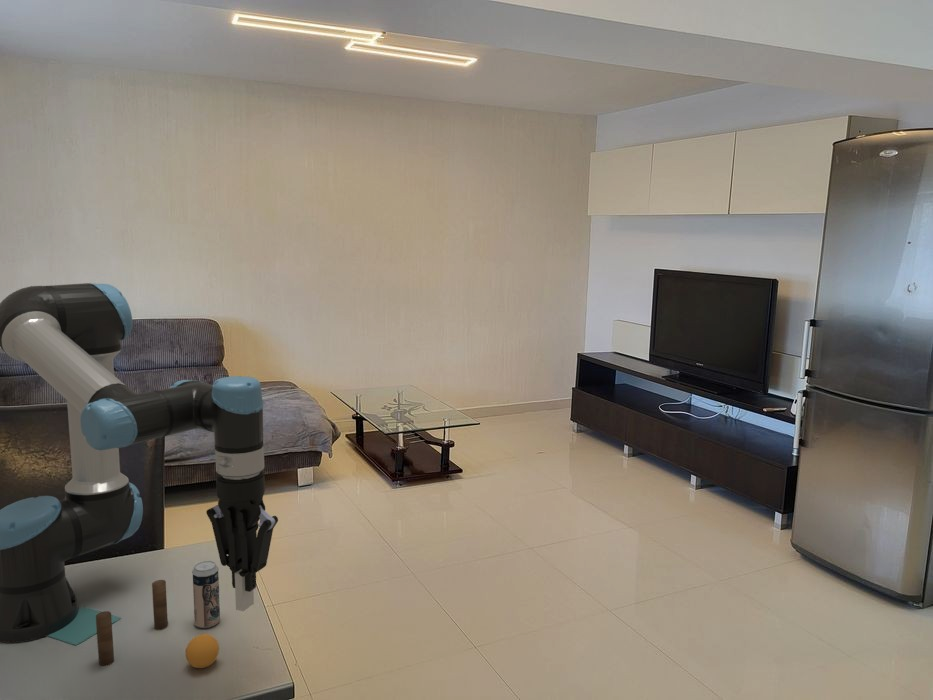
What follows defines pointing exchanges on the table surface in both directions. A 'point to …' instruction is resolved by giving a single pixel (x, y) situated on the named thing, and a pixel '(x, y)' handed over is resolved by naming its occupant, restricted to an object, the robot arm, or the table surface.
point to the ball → (202, 651)
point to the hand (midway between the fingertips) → (245, 606)
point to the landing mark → (80, 627)
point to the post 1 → (104, 638)
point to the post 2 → (159, 604)
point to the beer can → (206, 594)
